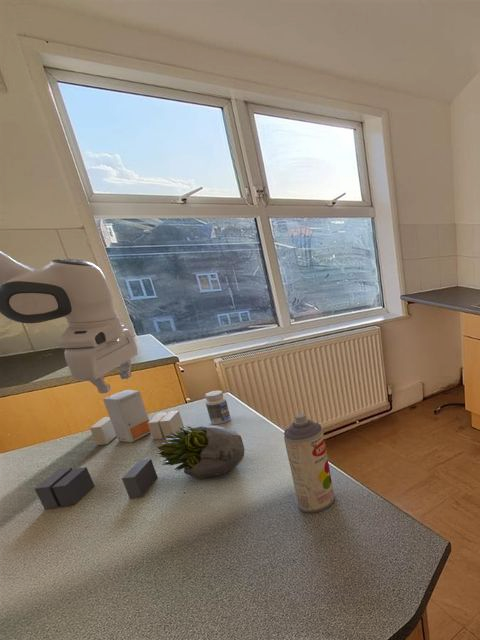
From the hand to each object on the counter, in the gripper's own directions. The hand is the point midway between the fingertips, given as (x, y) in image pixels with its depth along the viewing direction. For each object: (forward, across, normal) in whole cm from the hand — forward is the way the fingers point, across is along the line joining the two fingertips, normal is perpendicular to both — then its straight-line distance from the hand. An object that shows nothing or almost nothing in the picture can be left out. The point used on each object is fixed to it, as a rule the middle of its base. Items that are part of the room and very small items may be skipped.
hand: (116, 384), depth 106 cm
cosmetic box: (+15, 0, 0) cm, 15 cm away
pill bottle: (+15, -5, +18) cm, 24 cm away
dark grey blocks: (+15, +26, +6) cm, 30 cm away
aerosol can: (+14, +40, +49) cm, 65 cm away
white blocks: (+15, 0, +2) cm, 15 cm away
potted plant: (+15, +23, +24) cm, 37 cm away
